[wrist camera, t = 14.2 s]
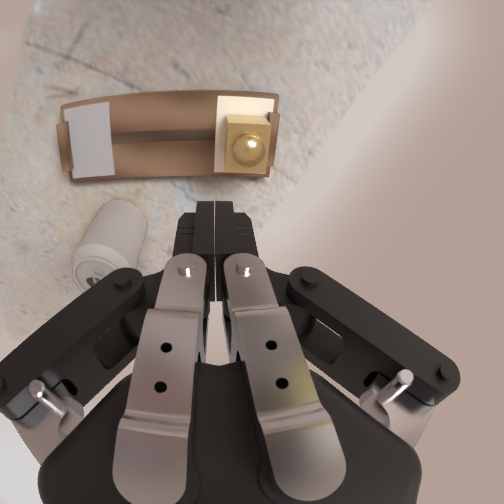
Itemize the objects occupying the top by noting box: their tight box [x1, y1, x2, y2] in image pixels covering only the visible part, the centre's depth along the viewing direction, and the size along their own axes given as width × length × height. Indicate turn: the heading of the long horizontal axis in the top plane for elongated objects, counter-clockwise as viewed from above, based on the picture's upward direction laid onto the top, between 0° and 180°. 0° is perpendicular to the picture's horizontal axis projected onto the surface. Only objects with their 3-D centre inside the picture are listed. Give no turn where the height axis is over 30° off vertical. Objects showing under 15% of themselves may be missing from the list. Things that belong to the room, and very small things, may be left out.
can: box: [72, 200, 147, 292], centre depth 31 cm, size 8×8×12 cm
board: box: [56, 90, 280, 182], centre depth 28 cm, size 10×25×3 cm, turn 85°
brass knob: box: [224, 114, 272, 174], centre depth 27 cm, size 5×4×6 cm
